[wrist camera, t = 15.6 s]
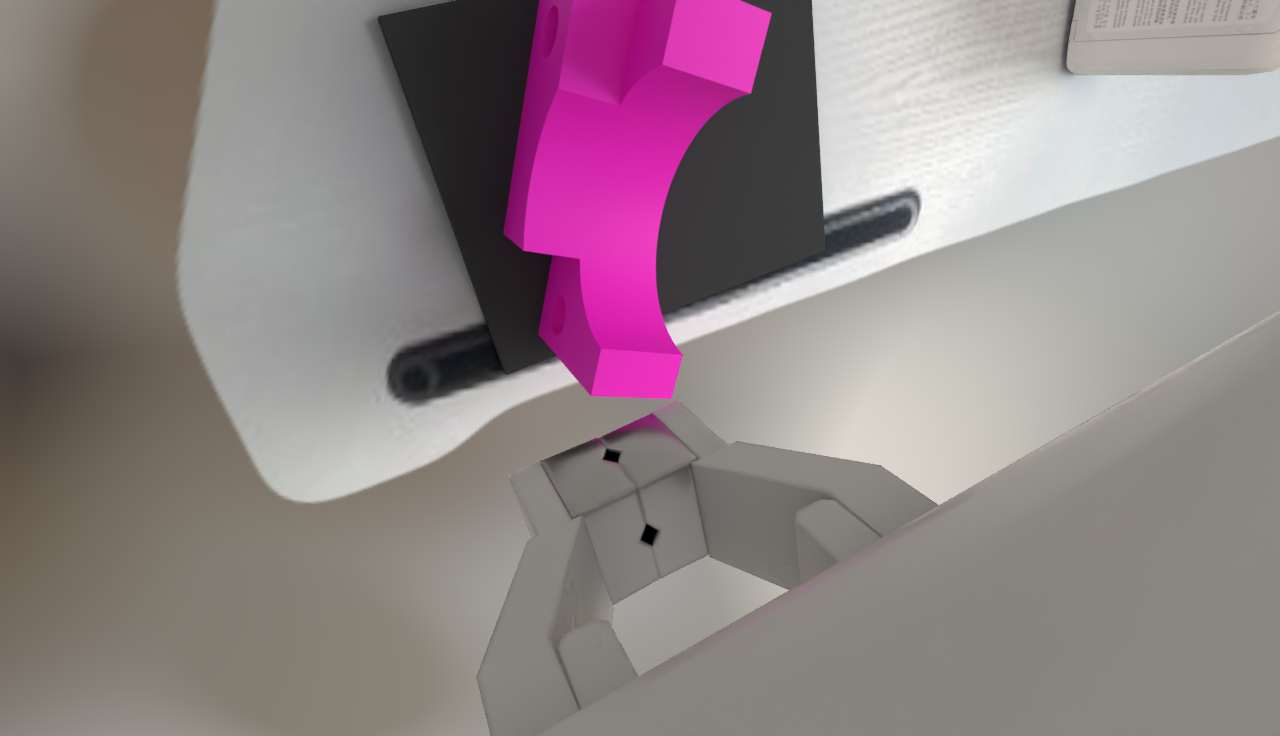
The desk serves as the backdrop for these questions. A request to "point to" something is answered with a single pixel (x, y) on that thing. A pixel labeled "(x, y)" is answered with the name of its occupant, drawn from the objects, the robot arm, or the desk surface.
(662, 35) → the toy block
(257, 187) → the desk surface
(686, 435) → the robot arm
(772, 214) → the mat
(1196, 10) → the photo printer
